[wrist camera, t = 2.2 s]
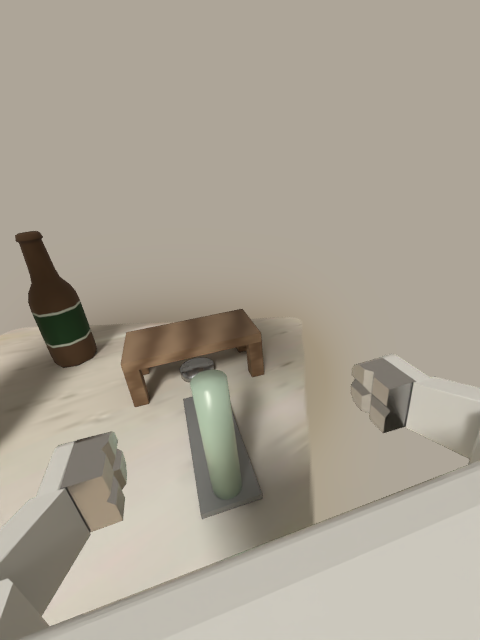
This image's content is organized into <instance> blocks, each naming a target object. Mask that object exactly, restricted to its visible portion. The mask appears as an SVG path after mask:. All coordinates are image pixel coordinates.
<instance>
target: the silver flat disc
mask: <svg viewBox="0 0 480 640" xmlns="http://www.w3.org/2000/svg"><path fill="white" fill-rule="evenodd" d="M206 370H214V364H213V361H212V360H210V359H208V358H203V357H200V358H194V359H190V360H188V361H186V362H185V363H184V364H182V366H181V367H180V373H181V377H182V379H183V380H184V381H186V382H191V380H192V378H193V377H194V376H195V375H196V374H198V373H200V372H202V371H206Z"/></svg>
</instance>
